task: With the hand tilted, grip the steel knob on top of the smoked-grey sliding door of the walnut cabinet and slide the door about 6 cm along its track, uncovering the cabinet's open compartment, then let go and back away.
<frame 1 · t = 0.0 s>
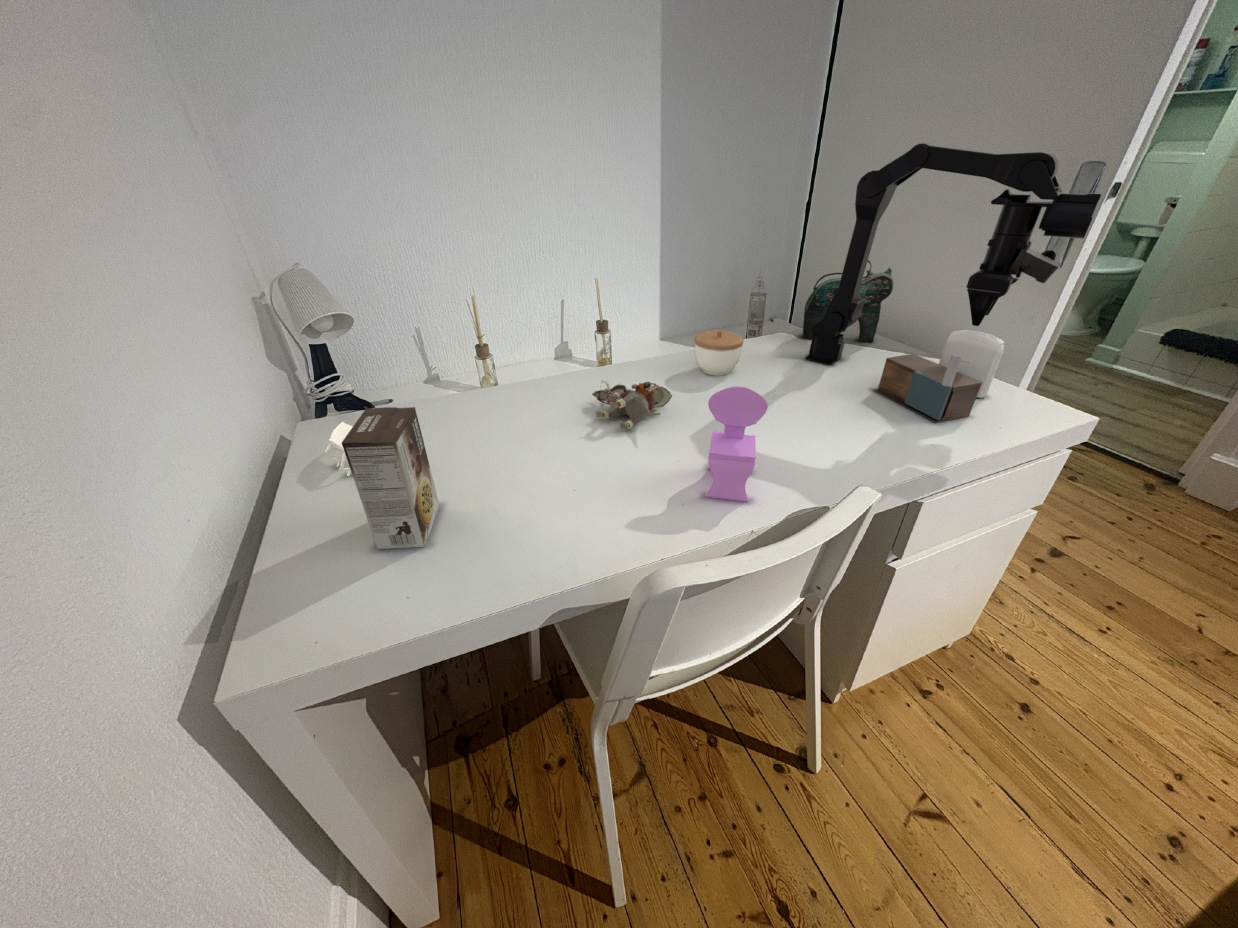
hand: (980, 320, 100), 15 cm above the table, tool pointing down, fingers open, 9 cm apart
brown food box: (410, 528, 70), on the table
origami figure: (356, 458, 86), on the table
trinket box: (715, 371, 118), on the table
dark green sculpted piece: (838, 339, 136), on the table
figurine: (635, 411, 100), on the table
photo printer: (957, 391, 108), on the table
cabinet: (904, 405, 101), on the table
sliding door: (931, 381, 95), point 7 cm above the table, slide at 0.0 cm
toy chair: (727, 485, 78), on the table
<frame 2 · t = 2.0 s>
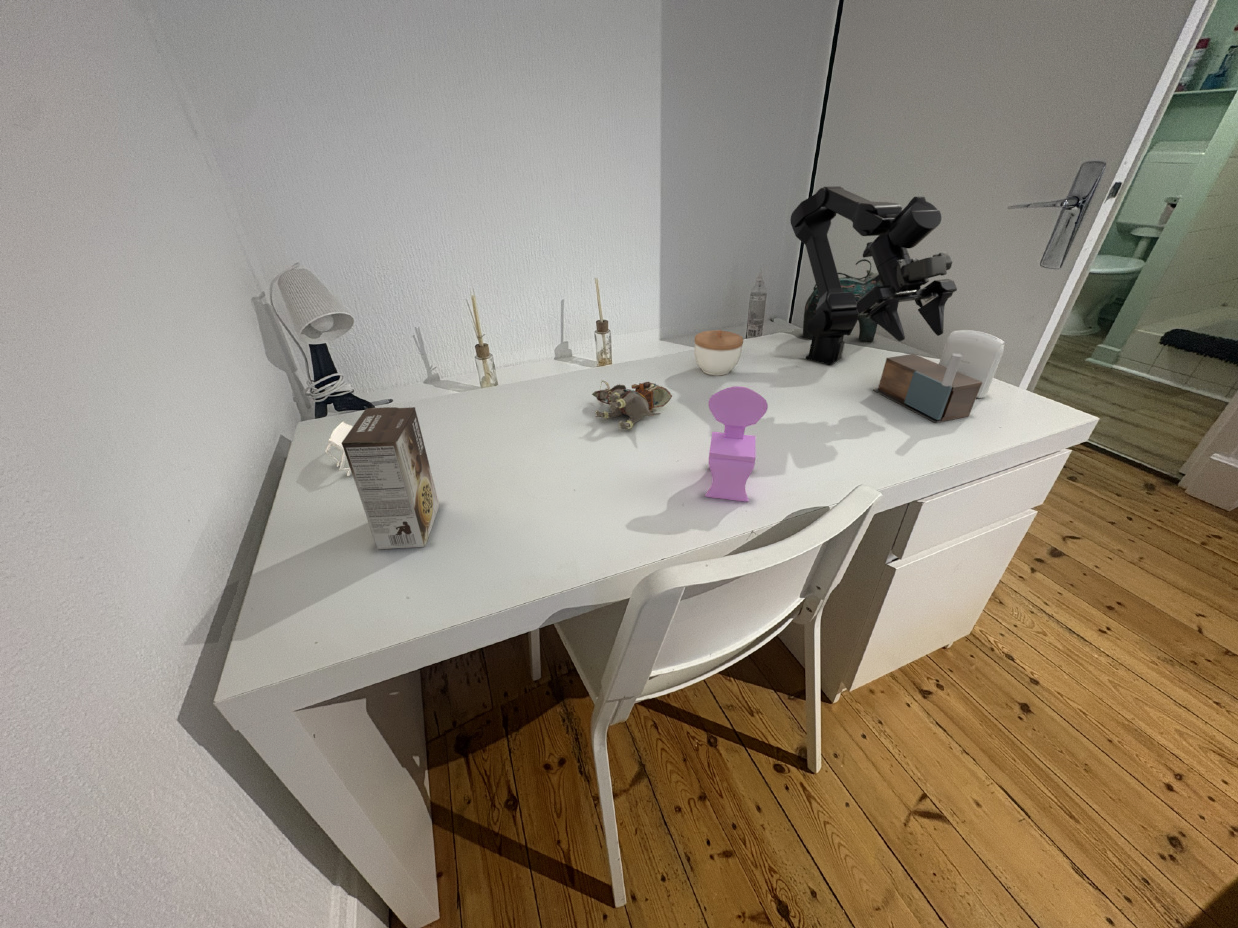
hand: (921, 337, 95), 13 cm above the table, tool tilted 45°, fingers open, 9 cm apart
nothing on the table moved.
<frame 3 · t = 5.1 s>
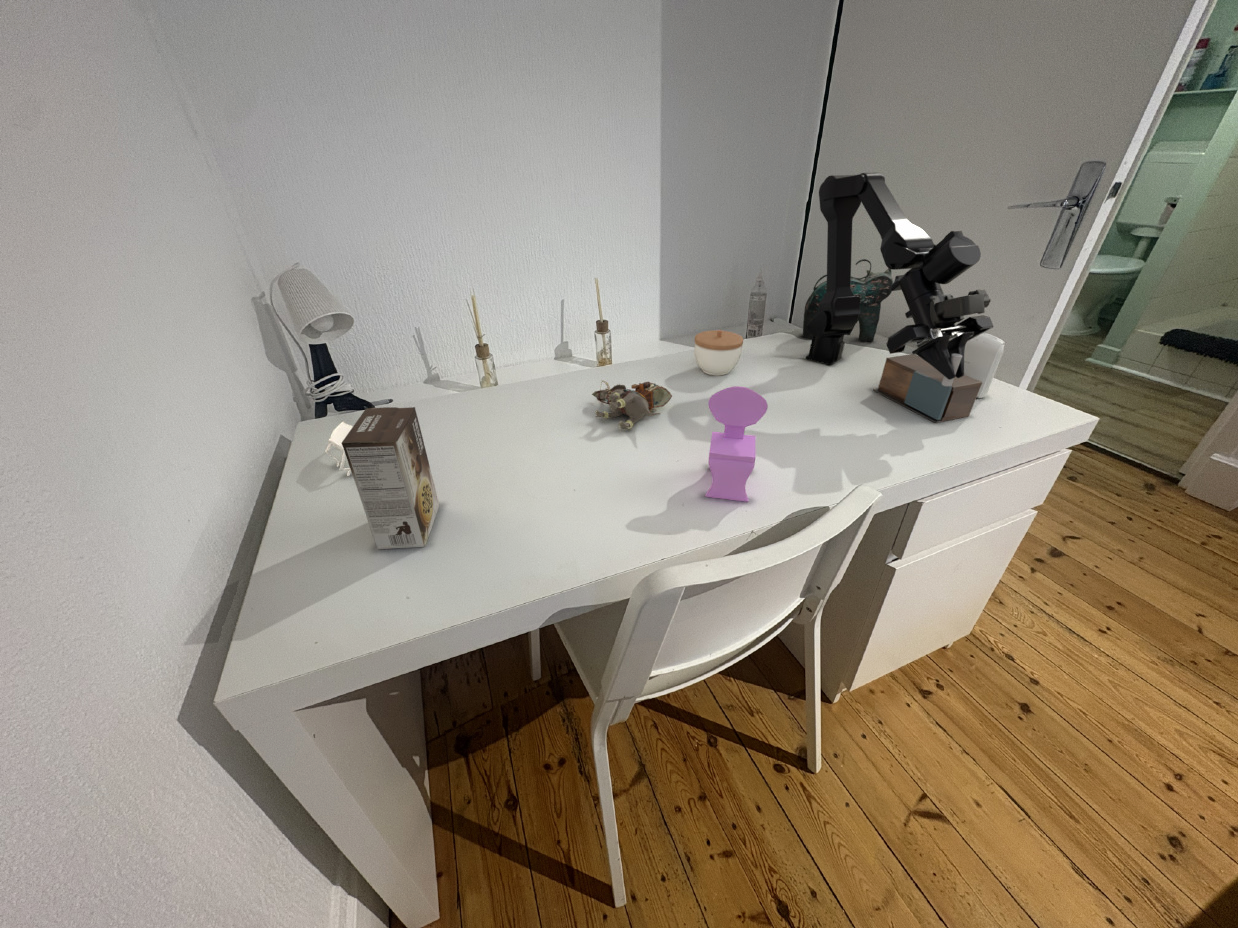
hand: (956, 377, 90), 9 cm above the table, tool tilted 45°, fingers closed on sliding door, 2 cm apart
sliding door: (931, 381, 95), point 7 cm above the table, slide at 0.0 cm, touching gripper
everything else where it was.
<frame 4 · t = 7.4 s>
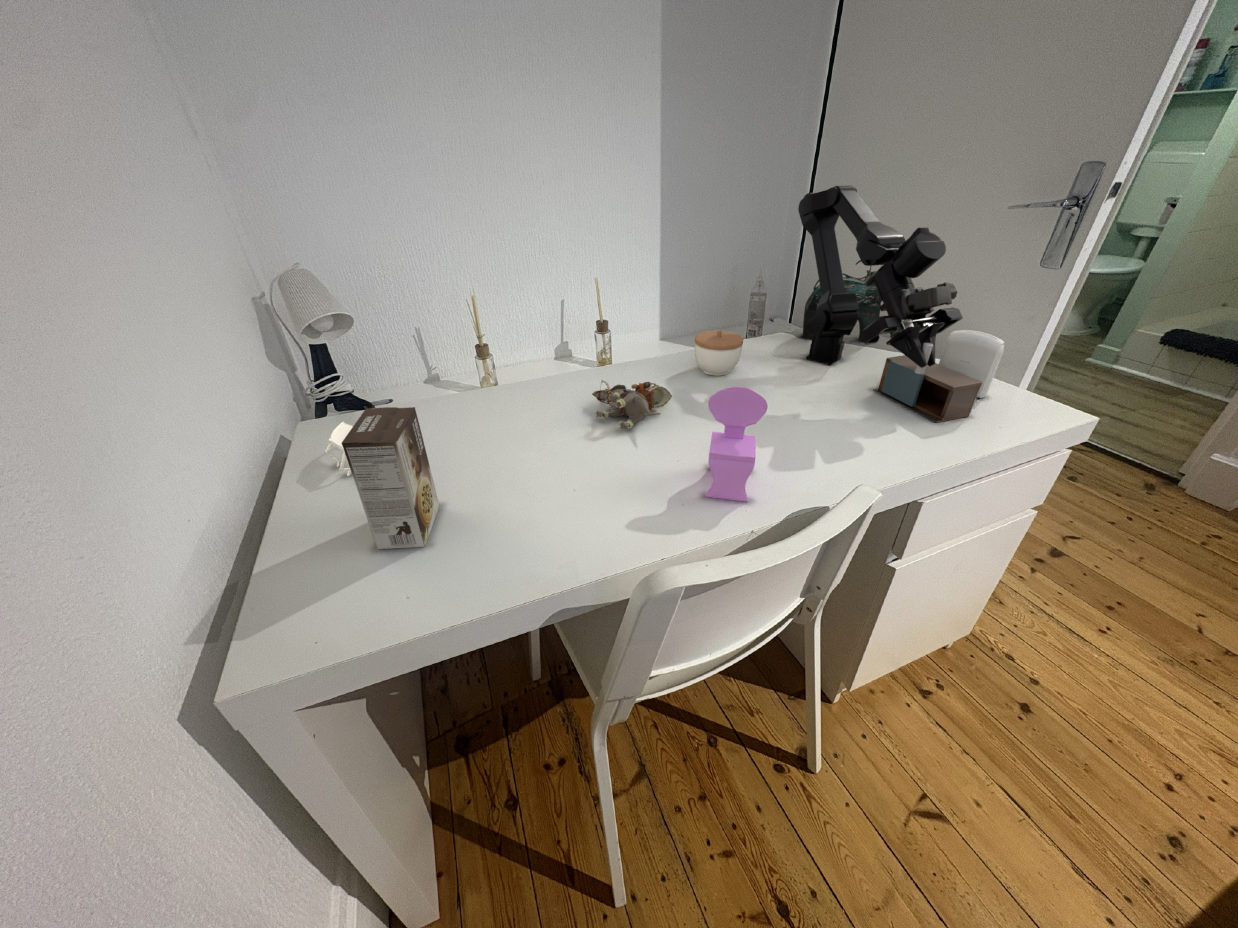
hand: (928, 366, 95), 9 cm above the table, tool tilted 45°, fingers closed on sliding door, 2 cm apart
sliding door: (906, 369, 100), point 7 cm above the table, slide at 6.1 cm, touching gripper
everything else where it was.
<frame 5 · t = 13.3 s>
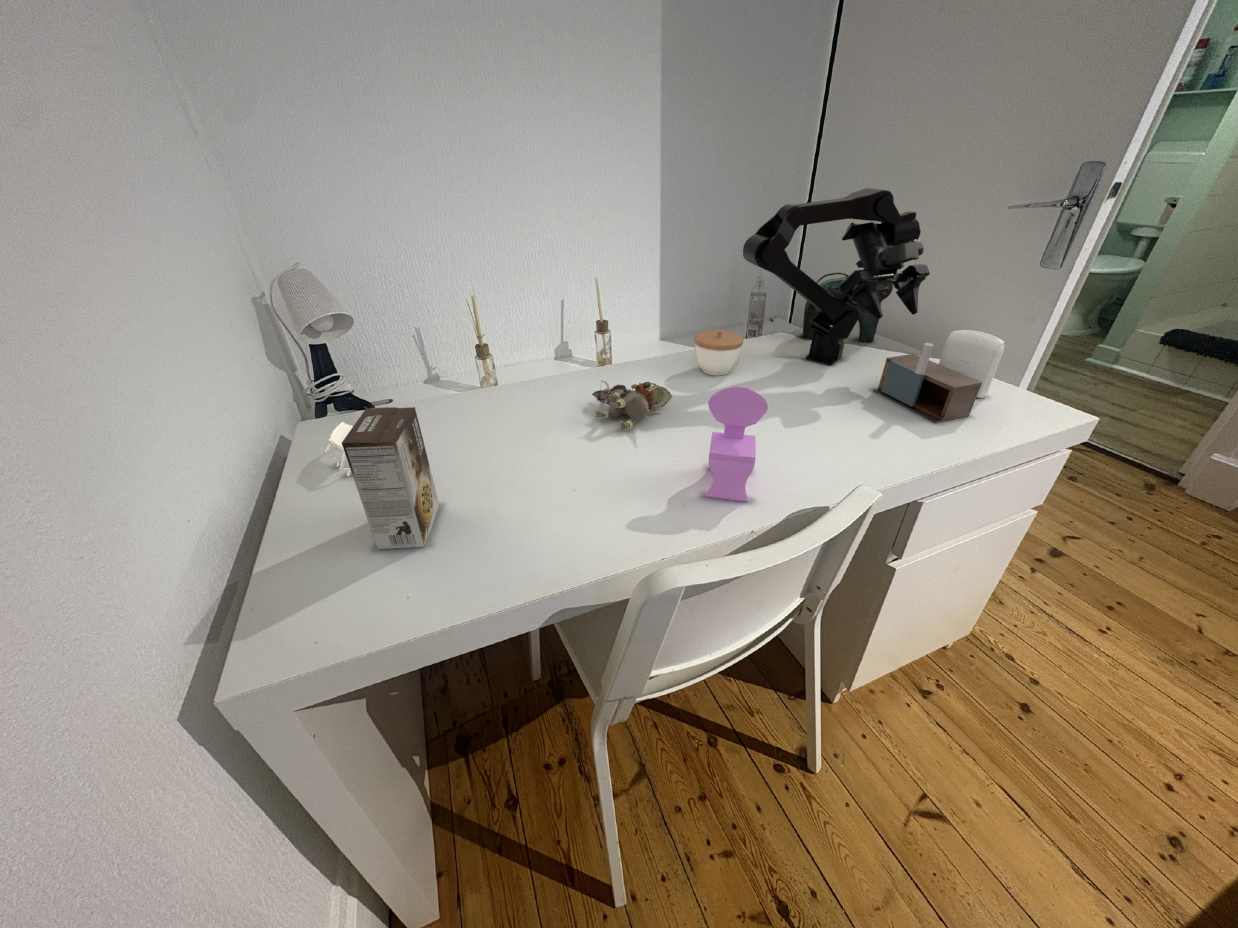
hand: (898, 315, 107), 14 cm above the table, tool tilted 45°, fingers open, 9 cm apart
sliding door: (906, 369, 99), point 7 cm above the table, slide at 6.0 cm
everything else where it was.
at the end: sliding door slide at 6.0 cm; the gripper is holding nothing; toy chair moved 0.2 cm from its start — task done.
